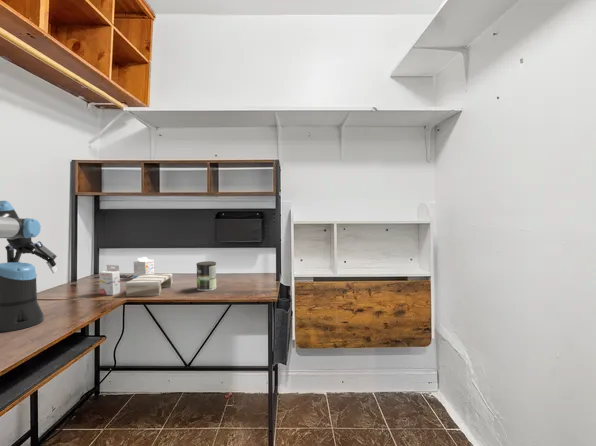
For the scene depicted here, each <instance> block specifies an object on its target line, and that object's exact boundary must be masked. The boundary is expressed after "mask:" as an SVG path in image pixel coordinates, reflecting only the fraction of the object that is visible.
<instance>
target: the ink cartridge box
mask: <svg viewBox="0 0 596 446" xmlns="http://www.w3.org/2000/svg"><path fill="white" fill-rule="evenodd" d="M98 274H99V294H100V295H104V296H115V295H116V296H117V295H118V294H121V278H120V266H119V265H117V264H106V270H103V271H99V273H98Z"/></svg>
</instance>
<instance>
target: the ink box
mask: <svg viewBox="0 0 596 446" xmlns="http://www.w3.org/2000/svg"><path fill="white" fill-rule="evenodd" d="M143 274H155V259H149V258H148V257H147V256H143V257H138V258H137V260H133V279H134V278H136V277H139V276H141V275H143Z"/></svg>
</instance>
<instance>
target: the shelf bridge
mask: <svg viewBox="0 0 596 446" xmlns="http://www.w3.org/2000/svg"><path fill="white" fill-rule="evenodd" d="M173 281H174V280H173V273H154V274H143V275H141V276H139V277H136V278H134V277H133V278H132V279H130V280H128V281H126V282H125V294H126V297H156V296H157V297H158V296H159V297H160V296H161V295H162V288H172V287H173V286H174V285H173V284H174V283H173Z"/></svg>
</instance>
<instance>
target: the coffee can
mask: <svg viewBox="0 0 596 446" xmlns="http://www.w3.org/2000/svg"><path fill="white" fill-rule="evenodd" d="M216 289H217V262H216V261H212V260H211V261H208V260H207V261H199V262H196V290H197V291H201V292H209V291H213V290H216Z"/></svg>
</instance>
